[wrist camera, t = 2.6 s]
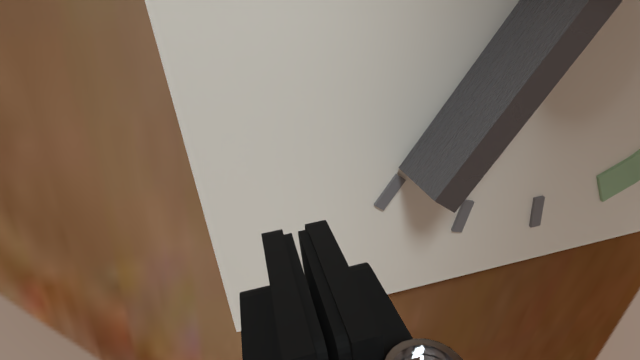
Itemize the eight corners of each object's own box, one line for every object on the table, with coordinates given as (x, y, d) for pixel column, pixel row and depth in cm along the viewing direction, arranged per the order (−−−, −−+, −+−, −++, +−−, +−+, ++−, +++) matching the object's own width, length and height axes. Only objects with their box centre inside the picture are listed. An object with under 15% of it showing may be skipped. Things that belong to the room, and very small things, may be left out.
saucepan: (599, -191, 12) (824, -309, 7) (664, -91, 14) (877, -137, 9) (366, 148, 15) (426, 209, 10) (444, 195, 17) (524, 264, 12)
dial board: (107, -165, 11) (92, -186, 10) (895, -203, 15) (952, -220, 14) (236, 313, 19) (236, 334, 17) (733, 192, 23) (761, 202, 22)
